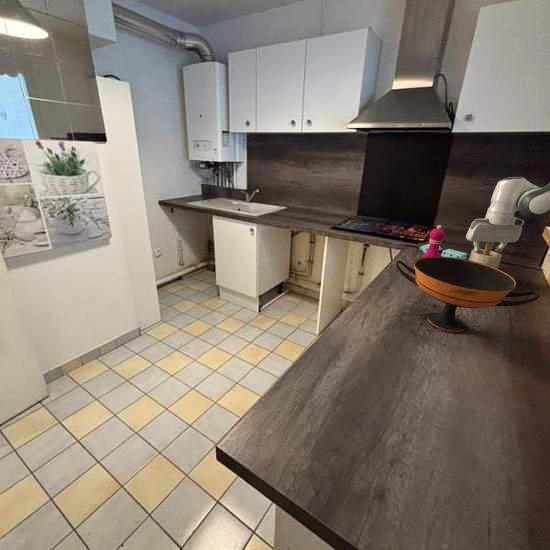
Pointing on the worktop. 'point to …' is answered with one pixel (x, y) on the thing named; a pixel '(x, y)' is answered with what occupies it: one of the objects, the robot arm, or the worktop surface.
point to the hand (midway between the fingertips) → (487, 251)
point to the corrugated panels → (447, 252)
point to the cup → (462, 287)
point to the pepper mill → (435, 242)
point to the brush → (488, 248)
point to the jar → (486, 258)
